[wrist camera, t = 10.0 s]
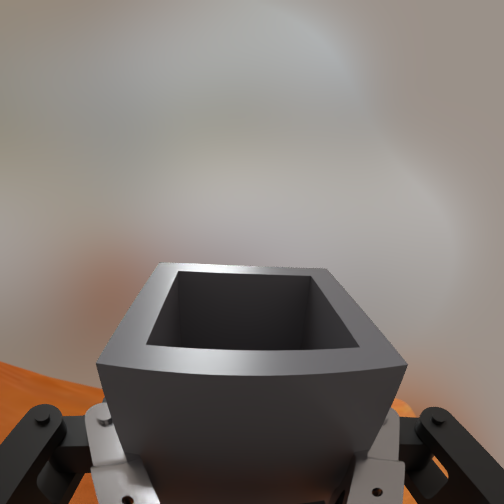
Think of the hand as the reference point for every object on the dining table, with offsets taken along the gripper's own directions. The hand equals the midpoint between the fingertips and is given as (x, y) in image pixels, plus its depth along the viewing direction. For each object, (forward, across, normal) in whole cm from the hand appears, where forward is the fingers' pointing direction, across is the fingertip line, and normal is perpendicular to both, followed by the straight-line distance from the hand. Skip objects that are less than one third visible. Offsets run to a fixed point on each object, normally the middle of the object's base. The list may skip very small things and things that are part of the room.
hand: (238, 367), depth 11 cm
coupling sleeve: (-2, 0, +6) cm, 6 cm away
